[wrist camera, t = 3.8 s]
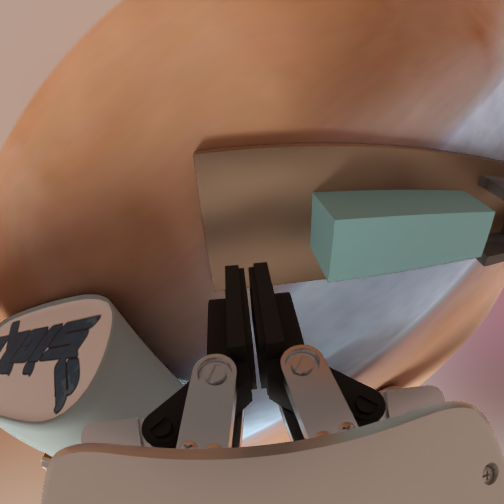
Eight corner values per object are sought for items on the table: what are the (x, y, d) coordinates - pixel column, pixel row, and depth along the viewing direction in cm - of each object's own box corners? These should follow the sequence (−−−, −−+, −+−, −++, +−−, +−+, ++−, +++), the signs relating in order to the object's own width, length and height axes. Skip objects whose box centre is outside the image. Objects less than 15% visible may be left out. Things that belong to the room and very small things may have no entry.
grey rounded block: (131, 272, 20) (91, 436, 9) (216, 387, 31) (223, 486, 20) (-5, 316, 21) (-43, 403, 11) (84, 399, 32) (73, 472, 22)
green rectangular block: (453, 232, 20) (481, 256, 17) (310, 246, 19) (327, 282, 16) (463, 190, 18) (495, 211, 14) (312, 192, 17) (334, 220, 14)
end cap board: (493, 245, 23) (517, 267, 19) (214, 282, 21) (213, 325, 18) (514, 164, 18) (544, 180, 14) (194, 151, 16) (185, 170, 12)
